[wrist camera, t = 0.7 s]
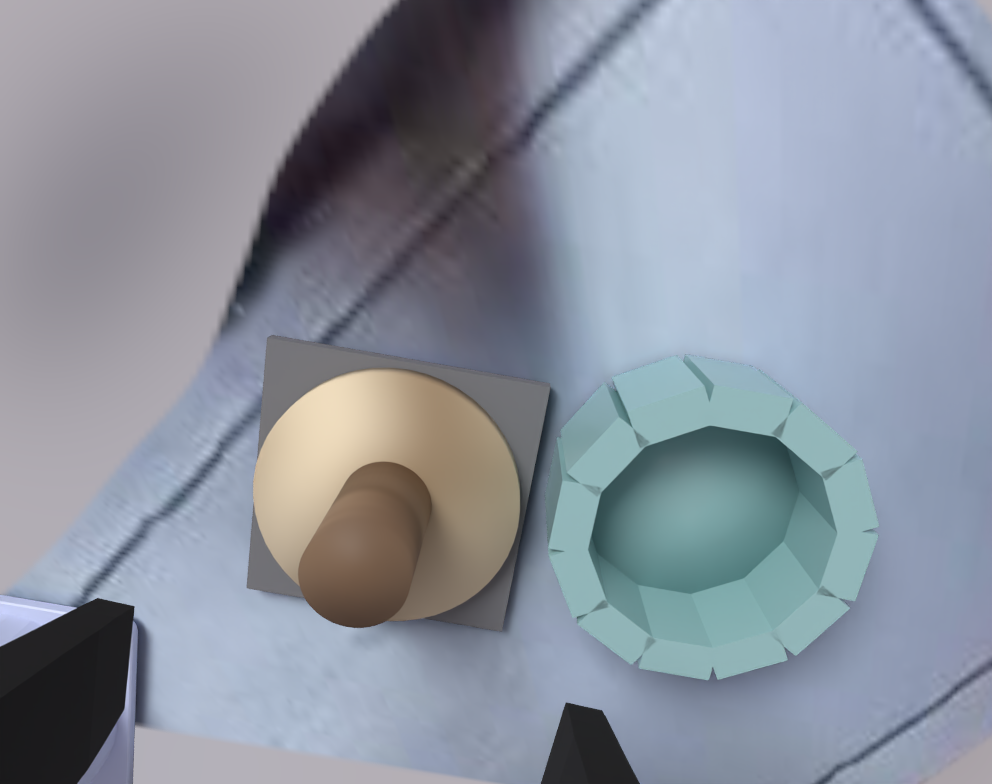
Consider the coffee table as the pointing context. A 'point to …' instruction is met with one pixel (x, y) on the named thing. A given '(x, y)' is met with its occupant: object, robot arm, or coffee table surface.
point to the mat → (502, 397)
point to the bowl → (705, 519)
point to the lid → (387, 496)
